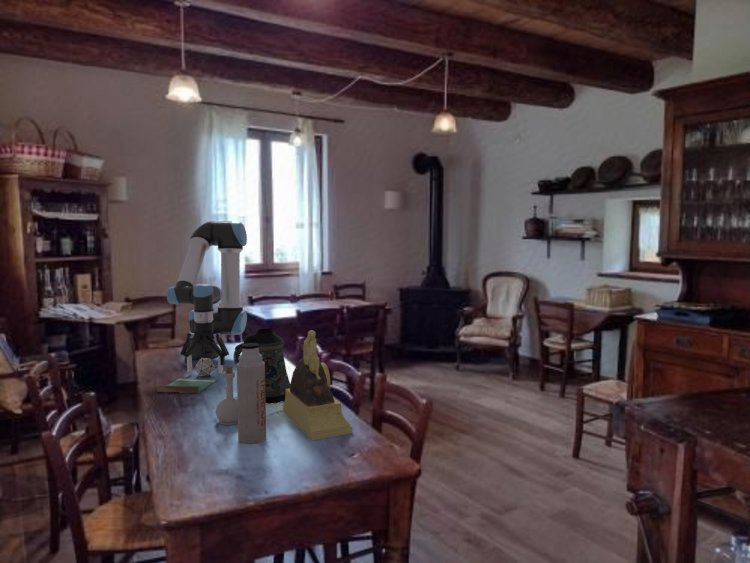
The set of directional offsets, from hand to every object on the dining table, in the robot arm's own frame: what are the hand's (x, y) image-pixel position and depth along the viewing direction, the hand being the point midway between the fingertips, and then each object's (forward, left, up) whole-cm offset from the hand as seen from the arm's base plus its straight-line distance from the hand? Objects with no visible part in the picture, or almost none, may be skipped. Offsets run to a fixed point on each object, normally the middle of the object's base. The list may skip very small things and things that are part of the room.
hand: (205, 372), depth 231 cm
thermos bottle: (+64, +44, -2) cm, 78 cm away
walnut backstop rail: (+23, 0, -2) cm, 23 cm away
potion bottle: (+51, +32, -2) cm, 60 cm away
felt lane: (+14, 0, -2) cm, 14 cm away
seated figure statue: (+48, +59, -2) cm, 76 cm away
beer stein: (+26, +35, -2) cm, 44 cm away
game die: (0, 0, -2) cm, 2 cm away
